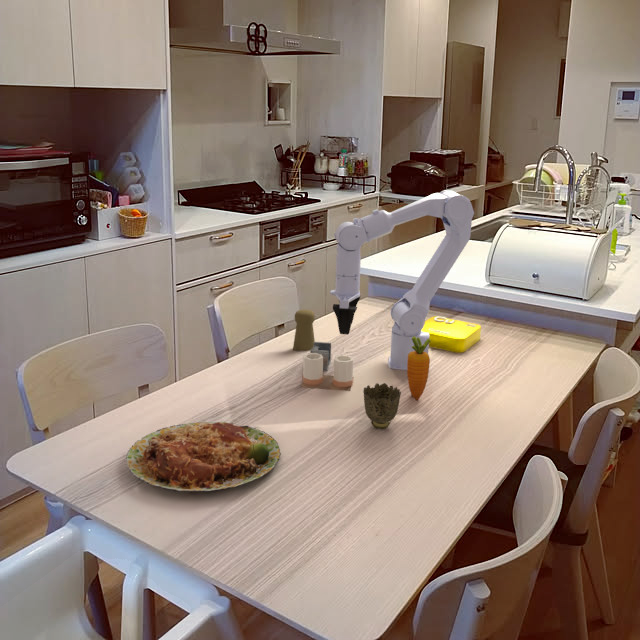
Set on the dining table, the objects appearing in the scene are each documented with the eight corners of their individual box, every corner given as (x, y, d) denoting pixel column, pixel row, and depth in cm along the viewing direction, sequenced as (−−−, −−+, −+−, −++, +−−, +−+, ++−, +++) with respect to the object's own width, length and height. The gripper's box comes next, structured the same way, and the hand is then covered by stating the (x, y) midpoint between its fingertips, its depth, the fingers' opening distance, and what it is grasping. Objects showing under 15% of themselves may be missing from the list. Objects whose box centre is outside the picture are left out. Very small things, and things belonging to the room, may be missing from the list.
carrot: (429, 398, 157) (434, 334, 152) (423, 407, 152) (428, 341, 148) (408, 394, 159) (412, 331, 154) (401, 402, 154) (405, 338, 150)
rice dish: (195, 419, 148) (194, 395, 146) (309, 448, 134) (308, 421, 133) (92, 478, 125) (89, 450, 123) (217, 520, 111) (215, 489, 110)
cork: (315, 355, 181) (316, 314, 177) (291, 354, 181) (292, 313, 178) (316, 347, 187) (317, 307, 183) (293, 346, 187) (293, 306, 183)
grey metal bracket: (358, 367, 173) (359, 344, 172) (356, 377, 168) (357, 353, 166) (313, 364, 175) (314, 341, 173) (309, 373, 169) (310, 350, 167)
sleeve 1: (320, 376, 164) (320, 352, 163) (324, 384, 160) (324, 359, 159) (301, 377, 164) (301, 353, 162) (305, 385, 159) (305, 360, 158)
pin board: (353, 381, 165) (354, 365, 164) (350, 395, 157) (350, 378, 156) (306, 378, 166) (307, 361, 165) (301, 392, 159) (301, 374, 158)
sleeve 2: (353, 380, 163) (354, 355, 161) (351, 387, 159) (352, 362, 157) (334, 378, 163) (335, 354, 162) (332, 386, 159) (332, 361, 157)
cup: (374, 437, 139) (375, 400, 136) (355, 422, 145) (356, 386, 142) (405, 430, 142) (408, 393, 139) (385, 415, 148) (387, 380, 146)
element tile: (409, 343, 192) (410, 326, 191) (432, 329, 204) (433, 313, 203) (461, 355, 185) (463, 338, 183) (482, 339, 197) (483, 323, 195)
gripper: (334, 265, 174) (333, 318, 178) (327, 280, 160) (325, 337, 164) (363, 267, 173) (361, 320, 177) (358, 282, 159) (356, 339, 164)
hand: (346, 328), depth 171 cm, fingers open, 7 cm apart
